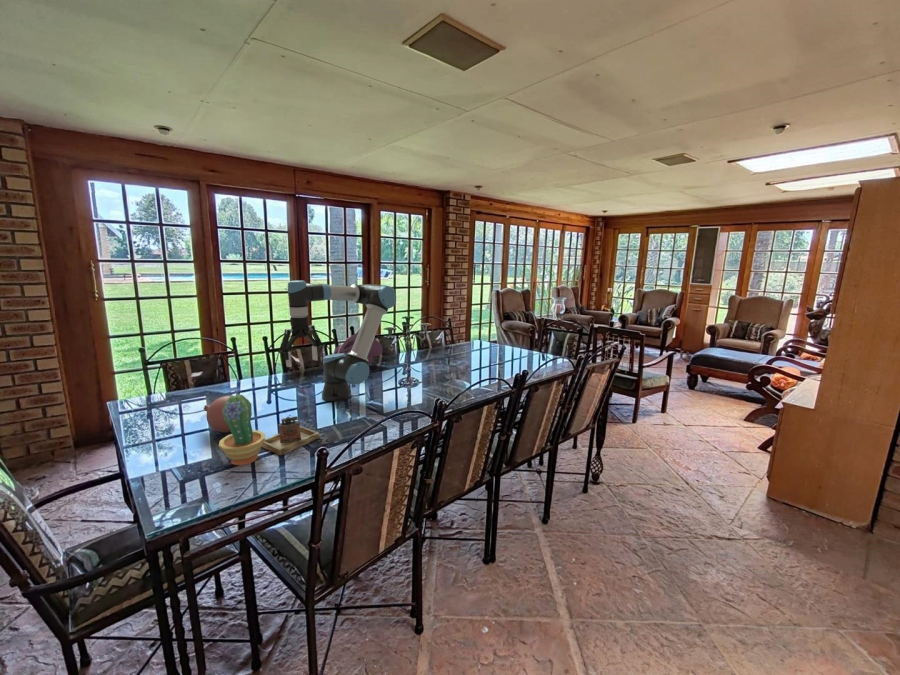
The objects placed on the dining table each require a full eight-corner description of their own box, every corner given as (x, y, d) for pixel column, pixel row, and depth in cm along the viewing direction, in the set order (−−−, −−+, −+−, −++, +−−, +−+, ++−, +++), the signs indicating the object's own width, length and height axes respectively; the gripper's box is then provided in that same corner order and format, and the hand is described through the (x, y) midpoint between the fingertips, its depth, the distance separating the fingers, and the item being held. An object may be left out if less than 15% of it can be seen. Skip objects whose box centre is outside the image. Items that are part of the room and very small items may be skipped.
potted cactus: (210, 464, 144) (202, 399, 139) (246, 446, 158) (239, 386, 153) (243, 473, 138) (235, 405, 133) (276, 453, 152) (271, 391, 147)
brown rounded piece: (224, 419, 183) (221, 387, 180) (257, 426, 176) (254, 393, 172) (192, 433, 169) (187, 398, 166) (226, 441, 162) (222, 405, 158)
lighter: (279, 444, 158) (277, 420, 156) (280, 440, 162) (277, 417, 159) (301, 440, 162) (299, 417, 159) (301, 437, 165) (299, 414, 163)
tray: (299, 430, 172) (299, 425, 172) (319, 437, 165) (319, 432, 165) (260, 446, 158) (260, 441, 157) (280, 455, 151) (279, 450, 150)
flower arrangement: (351, 387, 243) (354, 345, 233) (320, 375, 250) (321, 334, 240) (381, 367, 274) (385, 329, 264) (353, 357, 281) (355, 320, 271)
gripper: (317, 312, 186) (319, 356, 191) (267, 319, 166) (271, 368, 170) (327, 313, 182) (330, 358, 187) (278, 320, 162) (282, 371, 166)
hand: (302, 363), depth 178 cm, fingers open, 13 cm apart
